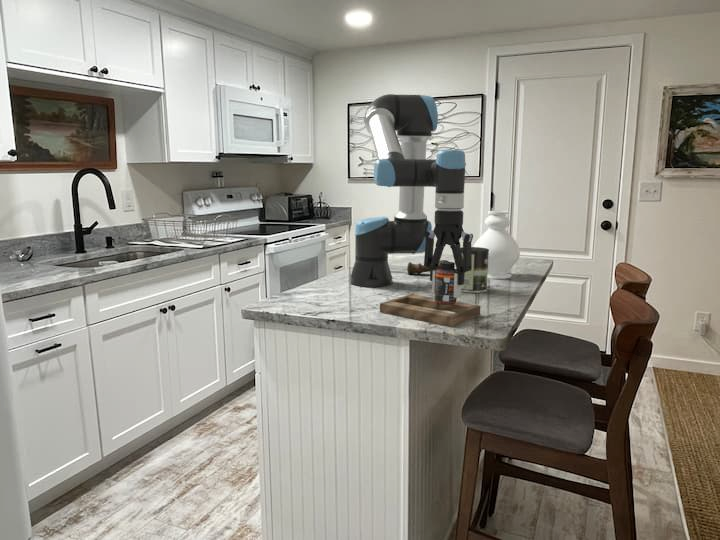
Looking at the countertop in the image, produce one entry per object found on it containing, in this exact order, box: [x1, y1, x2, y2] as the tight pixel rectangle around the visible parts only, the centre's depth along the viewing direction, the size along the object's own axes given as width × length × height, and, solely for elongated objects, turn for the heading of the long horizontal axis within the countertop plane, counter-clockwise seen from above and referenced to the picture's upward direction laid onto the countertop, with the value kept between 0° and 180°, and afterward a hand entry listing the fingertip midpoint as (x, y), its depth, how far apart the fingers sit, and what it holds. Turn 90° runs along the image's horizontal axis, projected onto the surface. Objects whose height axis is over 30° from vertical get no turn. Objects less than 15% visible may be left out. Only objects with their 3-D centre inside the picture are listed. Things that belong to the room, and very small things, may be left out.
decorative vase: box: [472, 210, 521, 280], centre depth 203 cm, size 18×18×25 cm
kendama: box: [406, 259, 457, 276], centre depth 204 cm, size 6×10×20 cm
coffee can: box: [460, 246, 489, 294], centre depth 178 cm, size 10×10×14 cm
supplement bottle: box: [434, 260, 458, 305], centre depth 143 cm, size 6×6×11 cm
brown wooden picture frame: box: [379, 293, 482, 327], centre depth 148 cm, size 23×16×2 cm
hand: (446, 294), depth 144 cm, fingers closed on supplement bottle, 6 cm apart
